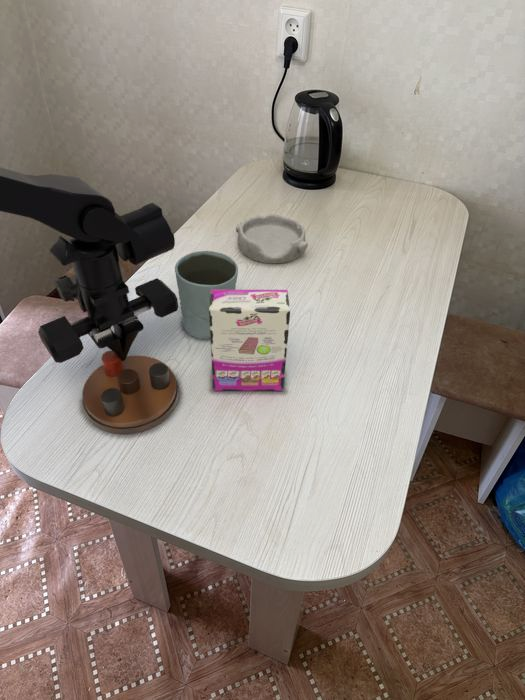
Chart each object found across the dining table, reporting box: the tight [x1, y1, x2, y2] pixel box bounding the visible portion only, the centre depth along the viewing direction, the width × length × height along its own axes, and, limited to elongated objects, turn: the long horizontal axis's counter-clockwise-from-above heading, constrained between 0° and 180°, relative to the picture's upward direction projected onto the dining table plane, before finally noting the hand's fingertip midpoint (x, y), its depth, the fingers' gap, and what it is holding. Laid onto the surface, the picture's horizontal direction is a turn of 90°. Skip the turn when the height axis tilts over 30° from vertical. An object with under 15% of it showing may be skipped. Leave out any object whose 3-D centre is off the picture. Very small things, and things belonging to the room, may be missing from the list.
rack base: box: [82, 378, 179, 435], centre depth 76 cm, size 14×14×1 cm
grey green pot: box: [174, 250, 239, 340], centre depth 86 cm, size 10×10×12 cm
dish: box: [235, 213, 309, 264], centre depth 107 cm, size 14×14×5 cm
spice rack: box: [82, 349, 177, 428], centre depth 74 cm, size 14×14×4 cm
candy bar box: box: [209, 289, 291, 392], centre depth 75 cm, size 11×5×16 cm, turn 92°
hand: (122, 359), depth 77 cm, fingers closed, pressing on spice rack
